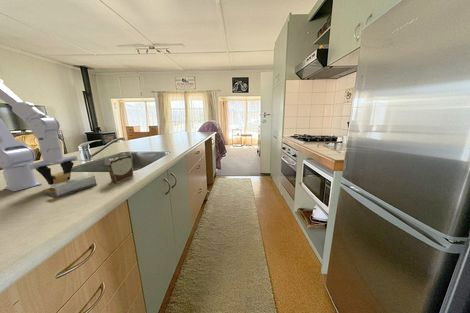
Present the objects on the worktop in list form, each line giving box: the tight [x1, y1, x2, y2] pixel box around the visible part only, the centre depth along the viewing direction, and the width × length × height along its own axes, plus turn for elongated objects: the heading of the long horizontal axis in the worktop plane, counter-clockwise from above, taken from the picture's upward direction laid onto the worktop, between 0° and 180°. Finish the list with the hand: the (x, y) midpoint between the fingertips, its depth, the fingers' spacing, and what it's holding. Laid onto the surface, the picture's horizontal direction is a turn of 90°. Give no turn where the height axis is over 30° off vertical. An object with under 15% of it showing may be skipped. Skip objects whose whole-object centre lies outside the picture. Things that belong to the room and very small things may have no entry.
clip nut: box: [51, 171, 72, 185], centre depth 73 cm, size 5×4×5 cm
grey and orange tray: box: [43, 174, 98, 198], centre depth 69 cm, size 10×12×4 cm
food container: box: [103, 153, 134, 184], centre depth 78 cm, size 12×6×10 cm, turn 168°
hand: (59, 181), depth 74 cm, fingers open, 5 cm apart
